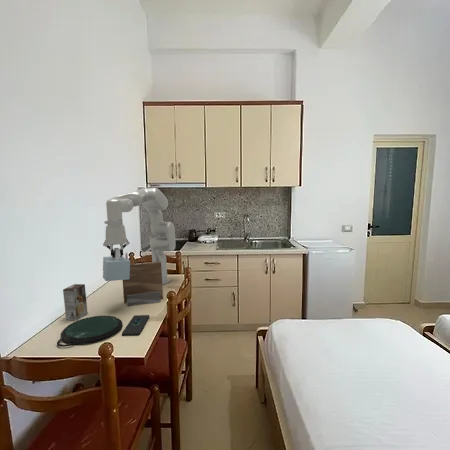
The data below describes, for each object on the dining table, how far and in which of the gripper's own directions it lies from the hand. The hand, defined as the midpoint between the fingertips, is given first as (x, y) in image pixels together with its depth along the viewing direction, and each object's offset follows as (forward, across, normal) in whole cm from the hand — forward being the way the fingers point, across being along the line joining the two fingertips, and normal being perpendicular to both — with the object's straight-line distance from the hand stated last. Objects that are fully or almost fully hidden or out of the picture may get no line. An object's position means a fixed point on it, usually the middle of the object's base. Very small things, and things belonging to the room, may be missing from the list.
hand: (117, 256), depth 166 cm
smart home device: (+30, +9, -24) cm, 39 cm away
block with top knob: (+11, -2, +2) cm, 12 cm away
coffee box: (+30, -21, -2) cm, 37 cm away
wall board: (+29, +12, +8) cm, 33 cm away
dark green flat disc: (+30, -12, -24) cm, 40 cm away
